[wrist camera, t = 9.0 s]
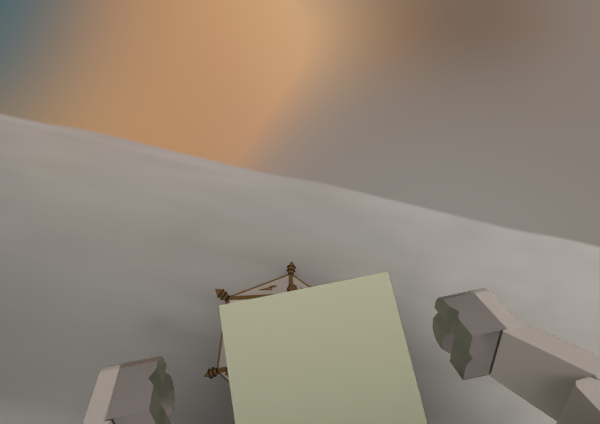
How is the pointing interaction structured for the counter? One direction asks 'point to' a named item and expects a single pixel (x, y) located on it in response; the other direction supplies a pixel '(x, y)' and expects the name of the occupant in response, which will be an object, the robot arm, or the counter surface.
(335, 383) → the green block
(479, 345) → the robot arm
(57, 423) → the counter surface
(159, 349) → the counter surface
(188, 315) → the counter surface
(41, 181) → the counter surface
